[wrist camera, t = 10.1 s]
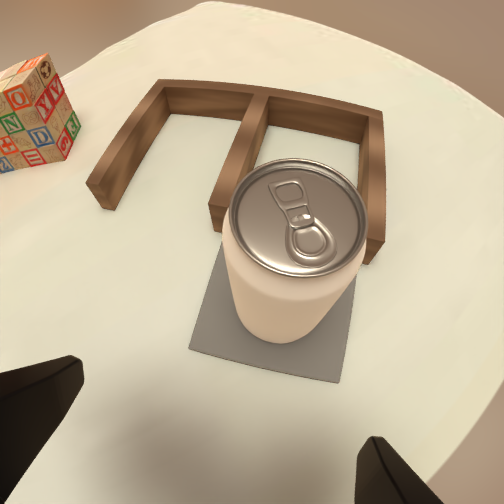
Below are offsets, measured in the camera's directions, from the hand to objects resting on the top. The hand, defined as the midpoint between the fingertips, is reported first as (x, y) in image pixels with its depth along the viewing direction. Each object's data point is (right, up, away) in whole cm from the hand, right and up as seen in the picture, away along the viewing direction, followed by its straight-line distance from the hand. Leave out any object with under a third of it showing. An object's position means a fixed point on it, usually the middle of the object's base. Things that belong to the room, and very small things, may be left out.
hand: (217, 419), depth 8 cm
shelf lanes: (0, +13, +21) cm, 25 cm away
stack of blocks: (-31, +18, +24) cm, 44 cm away
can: (+3, +1, +15) cm, 16 cm away
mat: (+3, +1, +15) cm, 16 cm away
